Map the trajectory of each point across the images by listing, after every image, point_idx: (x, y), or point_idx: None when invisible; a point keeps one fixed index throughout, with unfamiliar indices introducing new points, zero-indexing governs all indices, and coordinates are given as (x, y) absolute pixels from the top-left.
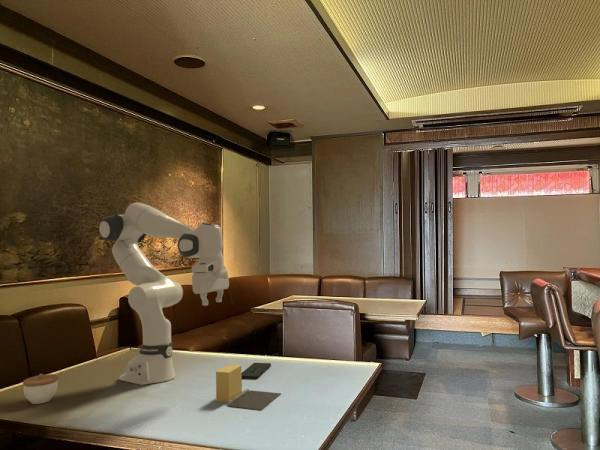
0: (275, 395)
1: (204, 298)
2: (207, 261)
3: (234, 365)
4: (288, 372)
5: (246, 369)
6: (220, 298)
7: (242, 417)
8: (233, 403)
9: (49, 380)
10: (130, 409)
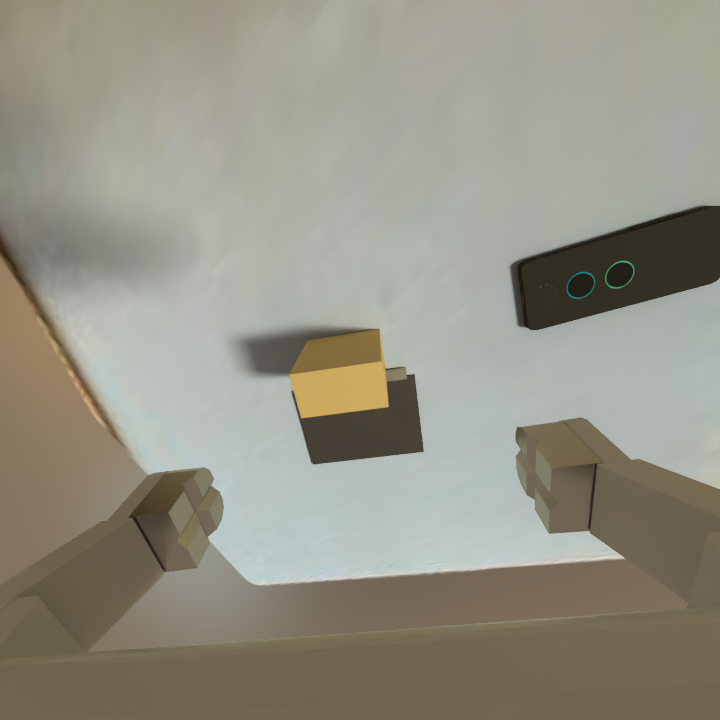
0: (404, 448)
1: (83, 601)
2: None
3: (380, 385)
4: (624, 377)
5: (610, 240)
6: (560, 518)
7: (262, 450)
8: None
9: None
10: (112, 147)
